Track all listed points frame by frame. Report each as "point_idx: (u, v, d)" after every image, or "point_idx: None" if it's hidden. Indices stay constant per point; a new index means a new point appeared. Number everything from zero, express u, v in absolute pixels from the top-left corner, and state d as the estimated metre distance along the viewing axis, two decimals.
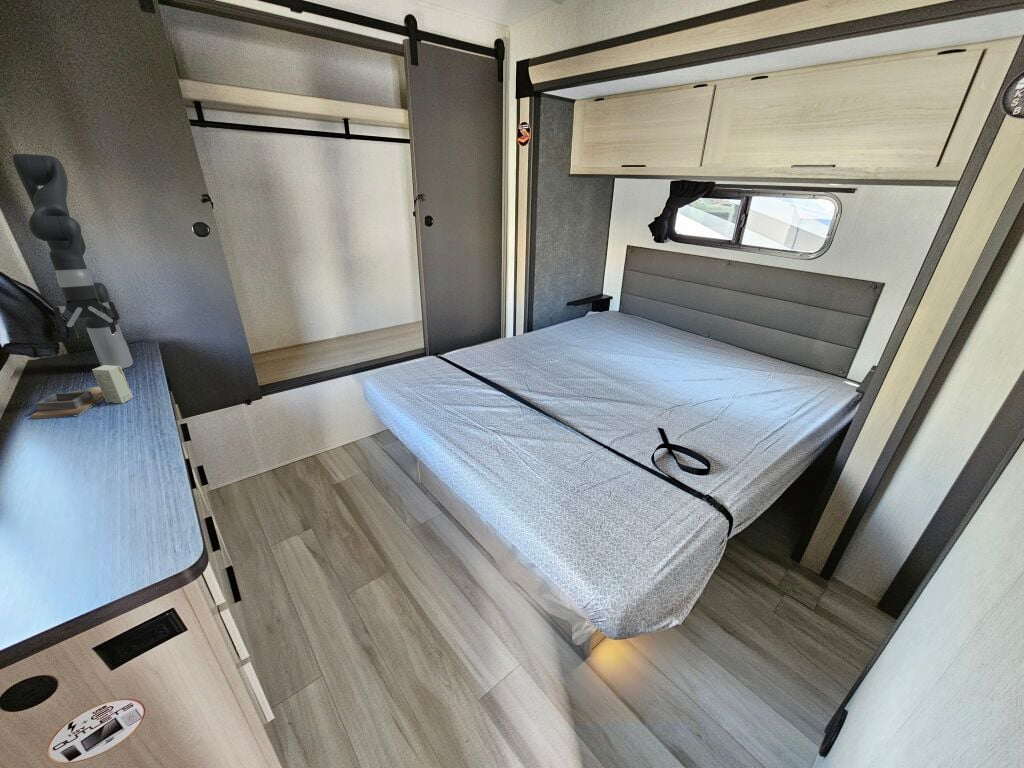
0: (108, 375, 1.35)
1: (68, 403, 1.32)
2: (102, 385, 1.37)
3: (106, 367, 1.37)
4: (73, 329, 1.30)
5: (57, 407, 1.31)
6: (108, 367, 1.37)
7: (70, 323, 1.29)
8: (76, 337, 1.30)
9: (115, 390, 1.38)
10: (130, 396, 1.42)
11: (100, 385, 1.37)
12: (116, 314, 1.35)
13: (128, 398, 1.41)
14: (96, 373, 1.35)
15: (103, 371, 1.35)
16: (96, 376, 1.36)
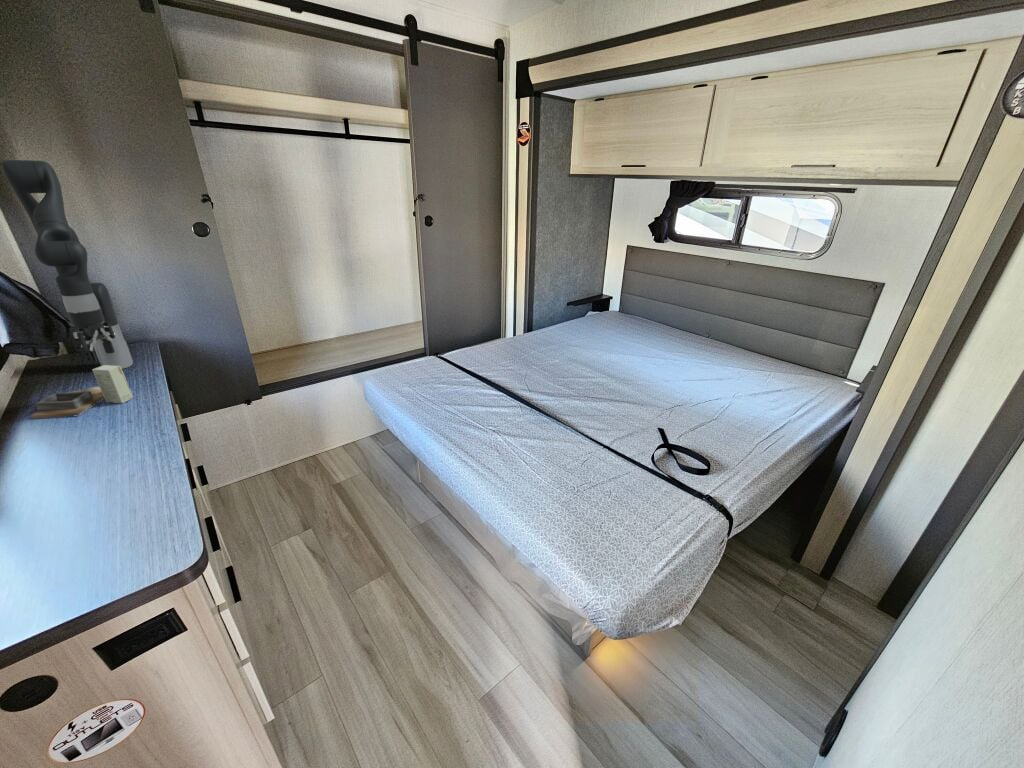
0: (108, 375, 1.35)
1: (68, 403, 1.32)
2: (102, 385, 1.37)
3: (106, 367, 1.37)
4: (93, 353, 1.31)
5: (57, 407, 1.31)
6: (108, 367, 1.37)
7: (91, 347, 1.30)
8: (96, 360, 1.32)
9: (115, 390, 1.38)
10: (130, 396, 1.42)
11: (100, 385, 1.37)
12: (112, 333, 1.39)
13: (128, 398, 1.41)
14: (96, 373, 1.35)
15: (103, 371, 1.35)
16: (96, 376, 1.36)
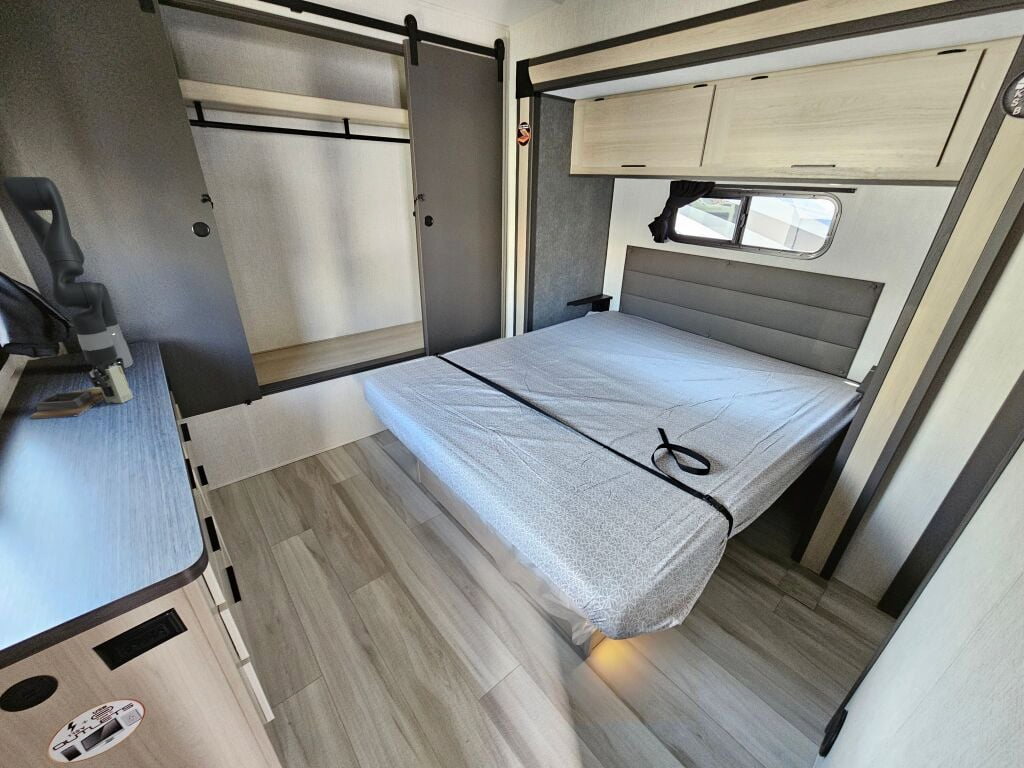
0: None
1: (68, 403, 1.32)
2: None
3: None
4: (110, 388, 1.37)
5: (57, 407, 1.31)
6: None
7: (109, 383, 1.36)
8: (113, 395, 1.38)
9: (115, 390, 1.38)
10: (130, 396, 1.42)
11: None
12: (124, 369, 1.43)
13: (128, 398, 1.41)
14: None
15: None
16: None
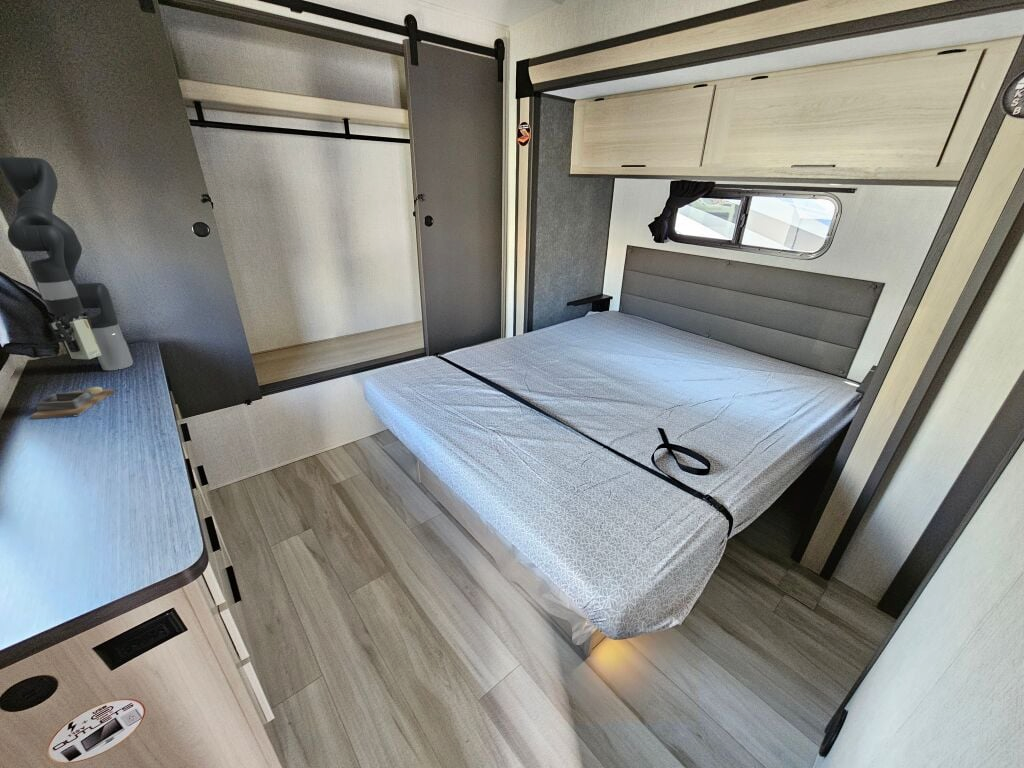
0: (73, 328, 1.27)
1: (68, 403, 1.32)
2: None
3: None
4: (76, 342, 1.29)
5: (57, 407, 1.31)
6: None
7: (73, 336, 1.28)
8: (79, 350, 1.30)
9: (81, 345, 1.29)
10: (98, 352, 1.34)
11: None
12: (90, 325, 1.35)
13: (96, 354, 1.33)
14: None
15: None
16: None
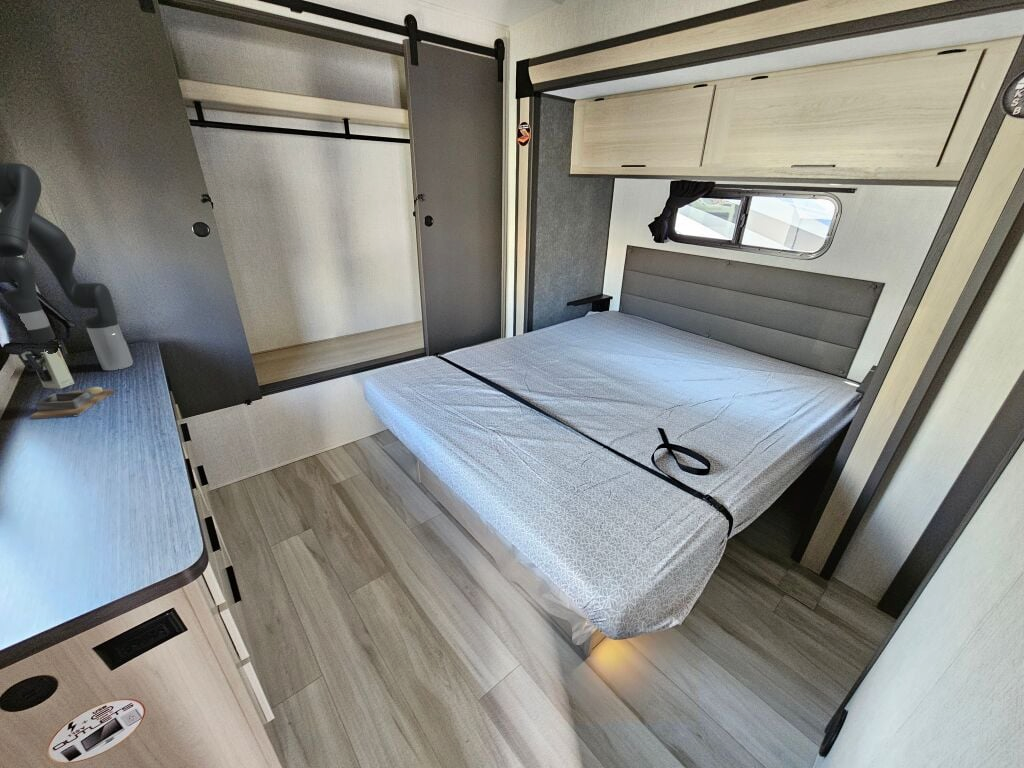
0: (44, 357, 1.26)
1: (68, 403, 1.32)
2: None
3: None
4: (47, 372, 1.28)
5: (57, 407, 1.31)
6: None
7: (45, 366, 1.27)
8: (50, 379, 1.29)
9: (53, 374, 1.28)
10: (71, 381, 1.33)
11: None
12: (64, 353, 1.34)
13: (68, 383, 1.32)
14: None
15: None
16: None
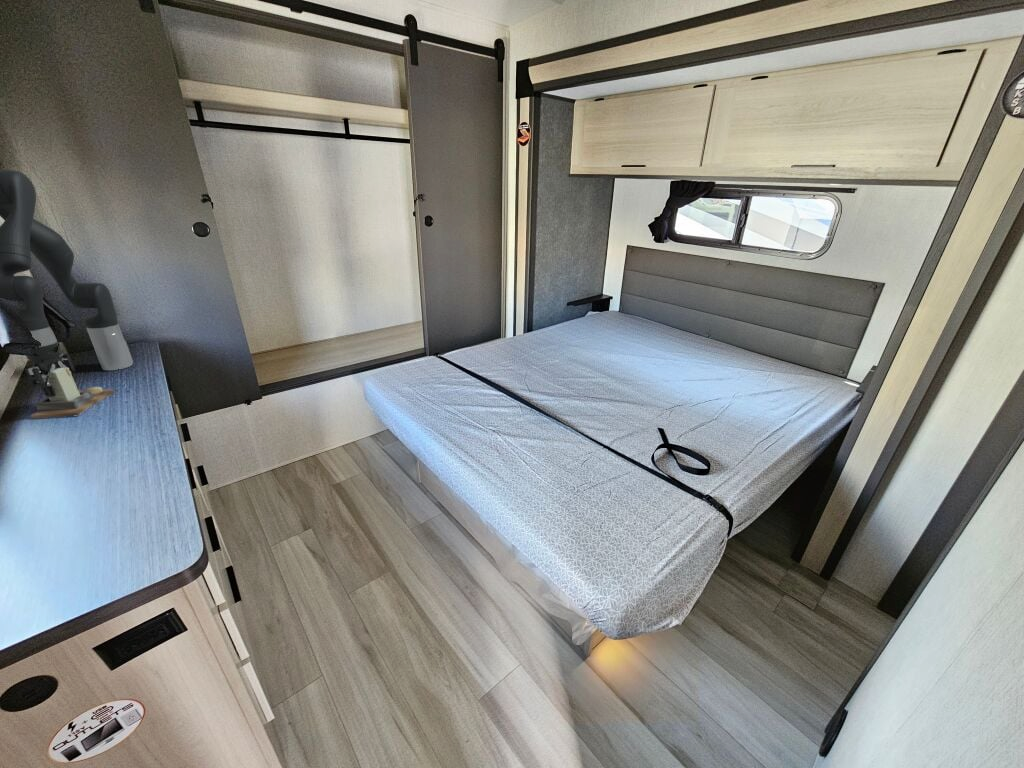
0: (54, 377, 1.29)
1: (68, 403, 1.32)
2: None
3: None
4: (51, 387, 1.29)
5: (57, 407, 1.31)
6: (55, 369, 1.31)
7: (49, 382, 1.28)
8: (54, 394, 1.30)
9: (63, 393, 1.31)
10: None
11: None
12: (72, 365, 1.37)
13: None
14: None
15: None
16: None
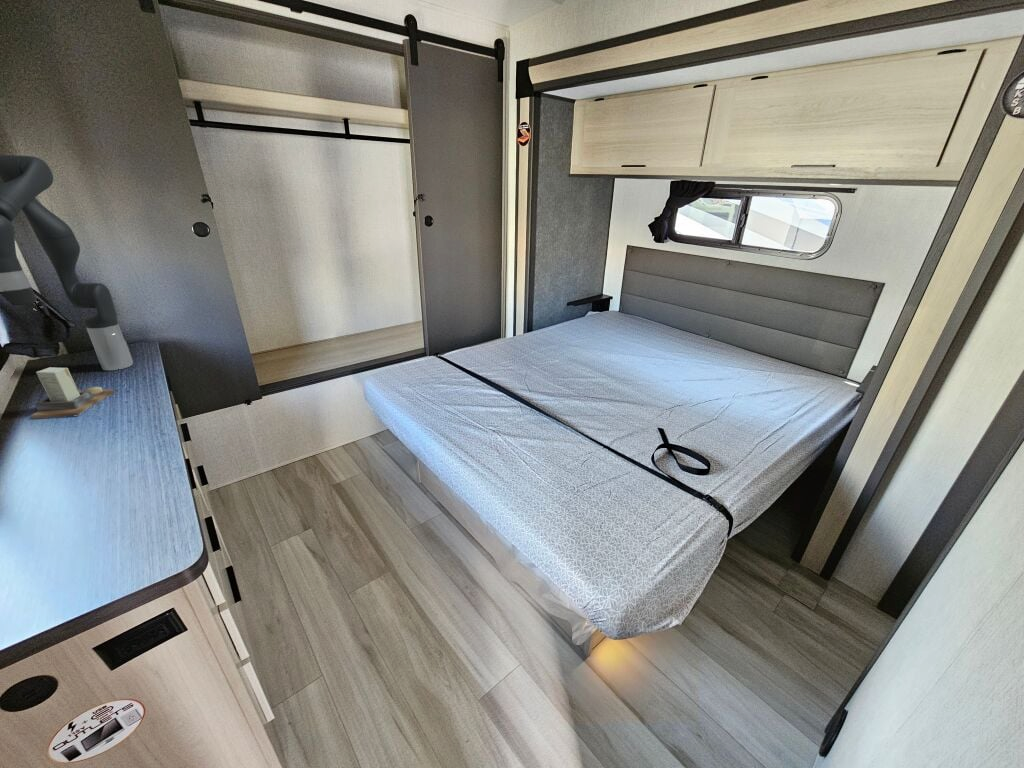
0: (54, 377, 1.29)
1: (68, 403, 1.32)
2: (48, 388, 1.31)
3: (52, 369, 1.30)
4: None
5: (57, 407, 1.31)
6: (54, 369, 1.30)
7: None
8: None
9: (63, 393, 1.31)
10: None
11: (46, 388, 1.31)
12: (48, 314, 1.31)
13: None
14: (40, 375, 1.29)
15: (48, 373, 1.29)
16: (41, 379, 1.29)
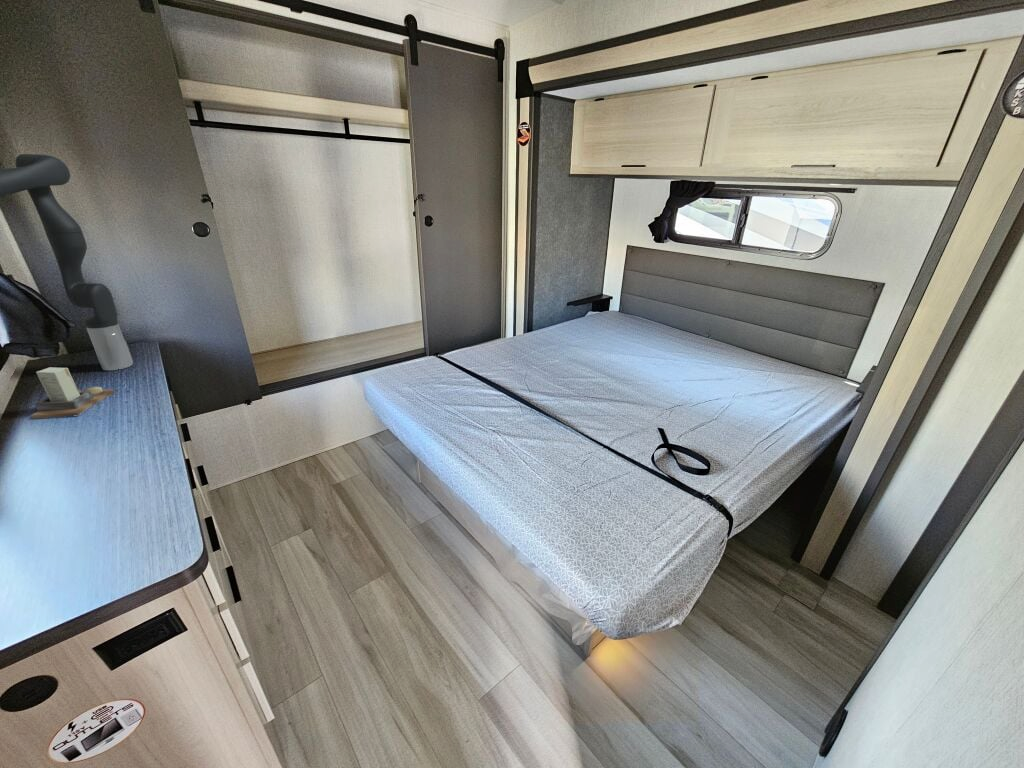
0: (54, 377, 1.29)
1: (68, 403, 1.32)
2: (48, 388, 1.31)
3: (52, 369, 1.30)
4: None
5: (57, 407, 1.31)
6: (54, 369, 1.30)
7: None
8: None
9: (63, 393, 1.31)
10: None
11: (46, 388, 1.31)
12: None
13: None
14: (40, 375, 1.29)
15: (48, 373, 1.29)
16: (41, 379, 1.29)
